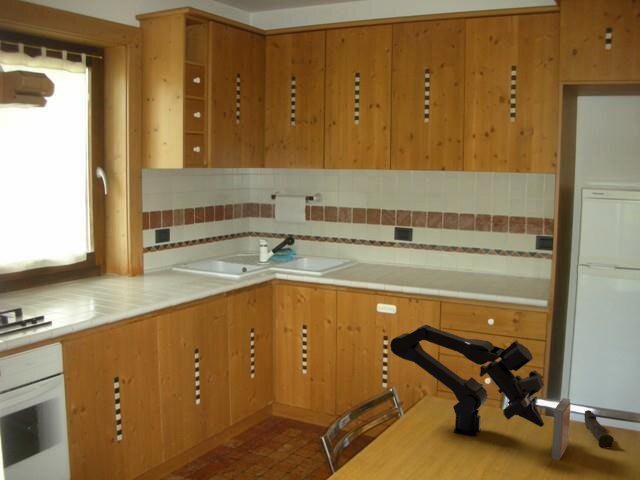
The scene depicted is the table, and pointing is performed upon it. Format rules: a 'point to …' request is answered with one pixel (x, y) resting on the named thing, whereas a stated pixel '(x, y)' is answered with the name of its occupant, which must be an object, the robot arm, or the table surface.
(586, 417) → the dark brown rough rod
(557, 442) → the tile
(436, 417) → the table surface
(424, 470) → the table surface
